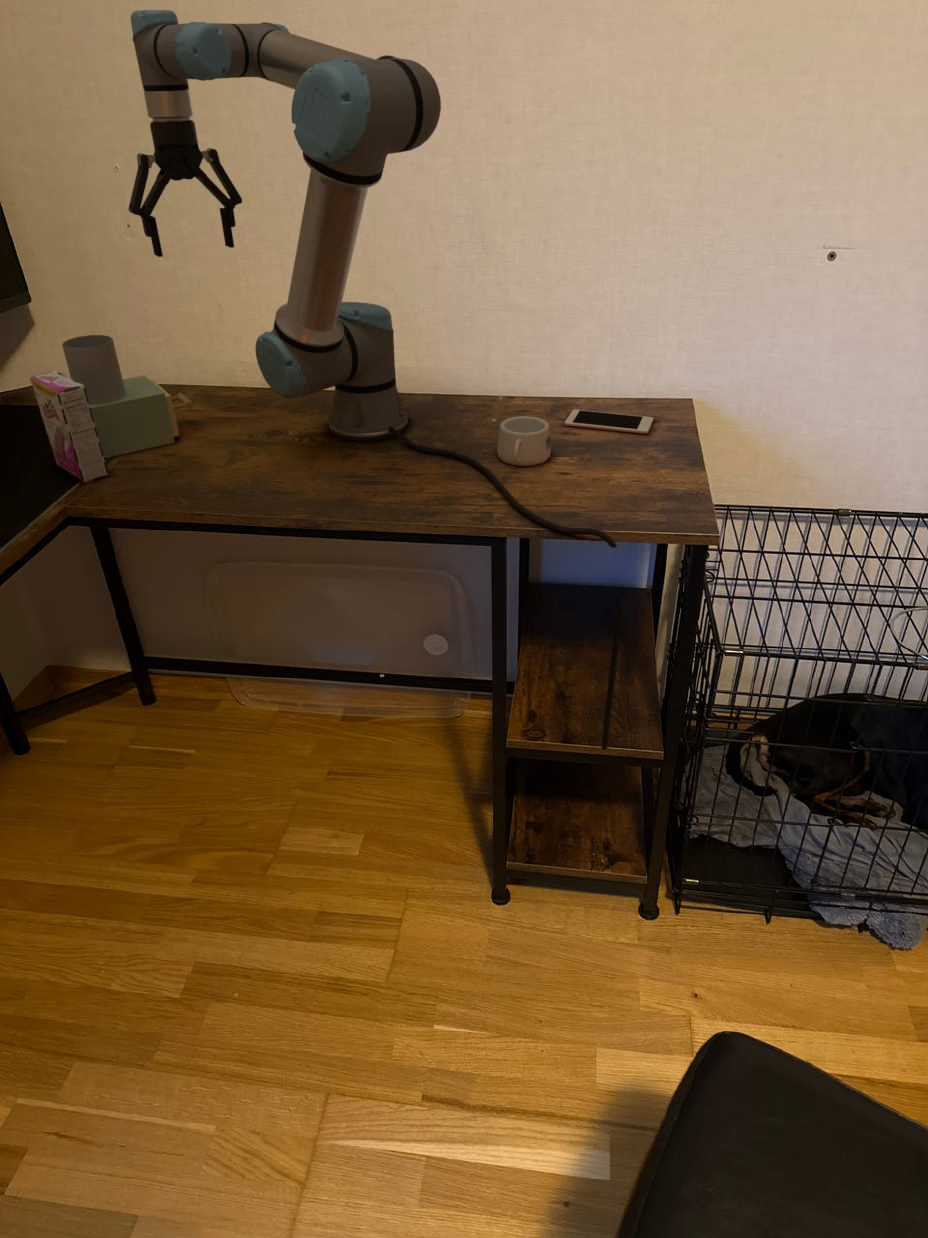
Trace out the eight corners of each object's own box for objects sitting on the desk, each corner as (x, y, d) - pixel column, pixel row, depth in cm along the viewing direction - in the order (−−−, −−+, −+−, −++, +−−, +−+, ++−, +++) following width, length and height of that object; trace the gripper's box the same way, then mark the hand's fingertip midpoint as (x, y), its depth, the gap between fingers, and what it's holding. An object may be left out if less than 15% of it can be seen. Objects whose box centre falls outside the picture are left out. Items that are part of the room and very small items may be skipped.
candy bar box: (54, 466, 155) (27, 376, 146) (81, 458, 158) (56, 369, 149) (82, 484, 148) (56, 391, 139) (110, 475, 151) (86, 383, 142)
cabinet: (155, 422, 172) (144, 375, 167) (175, 442, 163) (164, 392, 158) (79, 438, 166) (66, 390, 160) (96, 460, 157) (82, 409, 151)
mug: (503, 443, 160) (504, 412, 157) (555, 448, 158) (556, 417, 154) (487, 469, 150) (487, 437, 147) (542, 475, 148) (543, 442, 145)
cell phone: (647, 434, 162) (647, 431, 162) (564, 425, 167) (564, 422, 167) (653, 420, 169) (653, 417, 168) (573, 411, 173) (573, 408, 173)
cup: (109, 406, 153) (95, 349, 147) (68, 403, 154) (52, 347, 148) (134, 390, 159) (121, 335, 154) (94, 388, 161) (80, 333, 155)
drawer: (183, 413, 174) (175, 375, 170) (202, 430, 166) (194, 390, 162) (91, 432, 166) (80, 393, 161) (107, 451, 158) (96, 410, 153)
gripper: (232, 114, 157) (250, 239, 169) (91, 122, 146) (121, 256, 157) (248, 116, 152) (265, 245, 163) (103, 124, 140) (133, 262, 152)
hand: (195, 251), depth 160 cm, fingers open, 13 cm apart
